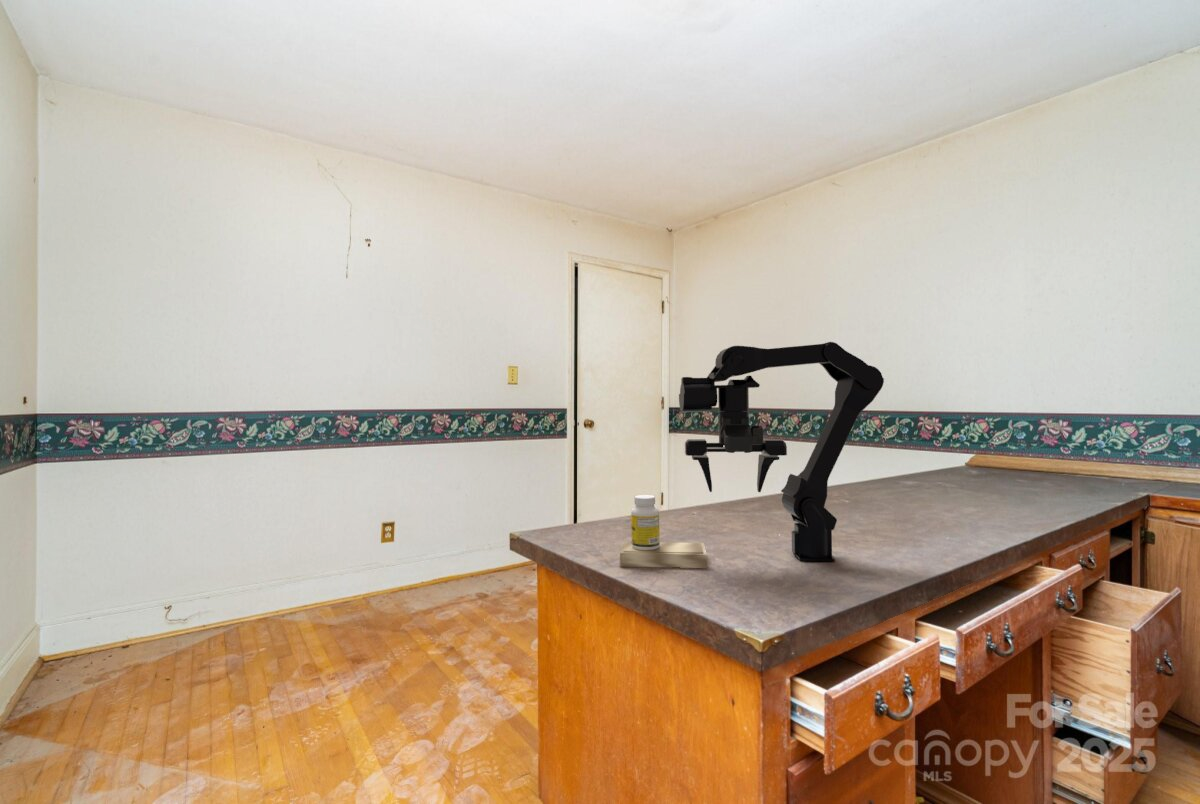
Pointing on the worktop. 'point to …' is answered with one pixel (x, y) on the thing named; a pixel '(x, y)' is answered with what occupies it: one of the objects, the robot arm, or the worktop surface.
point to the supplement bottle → (645, 523)
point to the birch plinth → (665, 555)
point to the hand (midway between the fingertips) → (734, 491)
